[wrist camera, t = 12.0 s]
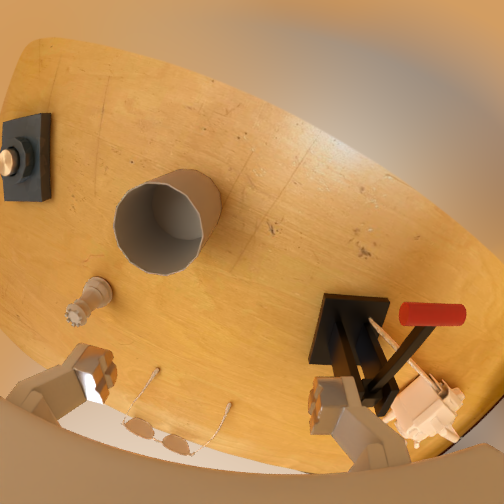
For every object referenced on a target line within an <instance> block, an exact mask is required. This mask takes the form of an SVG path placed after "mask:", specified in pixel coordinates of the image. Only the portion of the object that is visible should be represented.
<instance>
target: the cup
mask: <svg viewBox="0 0 504 504" xmlns="http://www.w3.org/2000/svg"><path fill="white" fill-rule="evenodd" d="M221 210H222V204H221V198H220V192H219V190H218V189H217V187H216V186H215V185H214V183H213V182H212V180H211V179H210V178H209V177H207V176H205V175H204V174H202V173H200V172H198V171H197V170H187V169H179V170H176V171H174V172H171V173H168V174H165V175H163V176H160V177H158V178H155V179H152V180H150V181H147V182H145V183H143V184H141V185H139V186H136V187H134V188H132V189H130V190H128V191H127V192H126V194H125V195H124V197H123V198H122V199H121V201H120V202H119V203H118V205H117V206H116V211H115V217H114V223H113V229H114V233H115V237H116V241H117V245H118V247H119V248H120V250H121V251H122V253H123V254H124V255H125V257H126V258H127V259H128V261H129V262H130V263H131V264H133V265H135V266H136V267H138V268H139V269H141V270H143V271H144V272H146V273H149V274H156V275H163V276H168V275H171V274H174V273H177V272H180V271H183V270H185V269H186V268H187V267H188V266H189V265H190V264H191V263H192V262H193V261H194V260H195V259H196V258H197V257H198V255H199V253H200V252H201V250H202V248H203V247H204V245H205V243H206V242H207V240H208V238H209V237H210V235H211V233H212V232H213V230H214V228H215V227H216V225H217V223H218V220H219V217H220V214H221Z"/></svg>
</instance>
